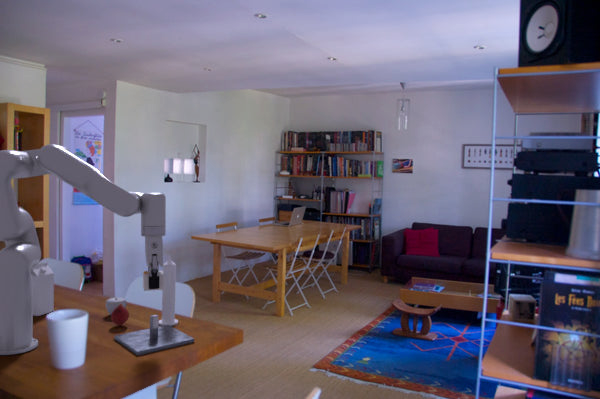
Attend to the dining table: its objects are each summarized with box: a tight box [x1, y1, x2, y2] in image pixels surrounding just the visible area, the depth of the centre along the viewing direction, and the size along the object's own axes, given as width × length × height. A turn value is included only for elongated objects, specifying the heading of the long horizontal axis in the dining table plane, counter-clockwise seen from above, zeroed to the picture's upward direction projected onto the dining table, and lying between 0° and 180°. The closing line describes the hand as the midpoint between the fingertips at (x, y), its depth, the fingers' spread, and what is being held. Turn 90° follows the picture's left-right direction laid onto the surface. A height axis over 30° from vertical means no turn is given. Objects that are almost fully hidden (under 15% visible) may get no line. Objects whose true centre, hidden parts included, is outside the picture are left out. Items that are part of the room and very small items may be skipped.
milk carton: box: [31, 261, 55, 317], centre depth 179 cm, size 7×7×19 cm
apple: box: [104, 296, 128, 316], centre depth 180 cm, size 8×8×7 cm
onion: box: [110, 304, 130, 327], centre depth 167 cm, size 6×6×8 cm
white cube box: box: [142, 270, 164, 292], centre depth 152 cm, size 6×6×6 cm
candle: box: [158, 255, 179, 327], centre depth 171 cm, size 7×7×25 cm
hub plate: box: [113, 314, 195, 356], centre depth 153 cm, size 19×18×8 cm
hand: (153, 285), depth 152 cm, fingers closed on white cube box, 6 cm apart
